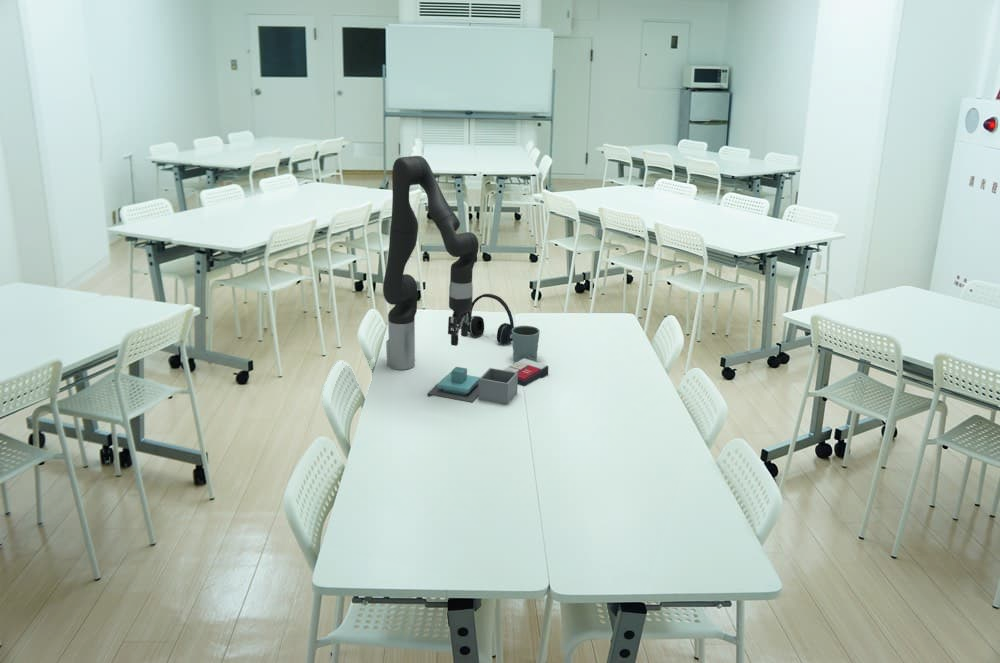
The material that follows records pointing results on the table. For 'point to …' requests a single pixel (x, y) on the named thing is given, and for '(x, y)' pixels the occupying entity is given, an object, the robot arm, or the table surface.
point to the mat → (455, 394)
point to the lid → (458, 381)
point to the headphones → (504, 330)
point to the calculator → (528, 371)
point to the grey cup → (525, 343)
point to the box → (498, 386)
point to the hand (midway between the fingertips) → (459, 340)
